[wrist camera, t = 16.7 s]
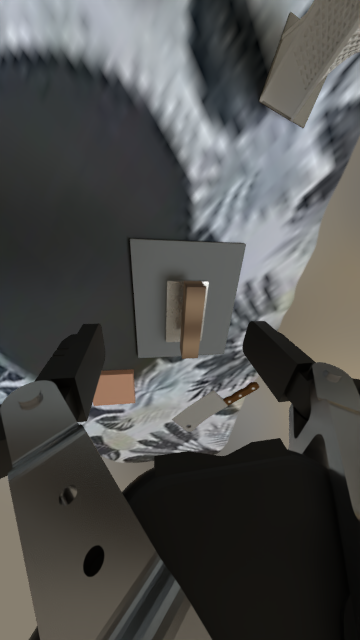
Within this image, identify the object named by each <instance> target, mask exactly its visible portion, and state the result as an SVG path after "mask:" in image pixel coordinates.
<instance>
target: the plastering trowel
mask: <svg viewBox="0 0 360 640" xmlns="http://www.w3.org/2000/svg"><path fill="white" fill-rule="evenodd" d="M208 285H209V281H195V280H167V305H166V342H180V351H181V356H182V359H185V358H198V352H199V344H200V341H201V340H202V332H203V325H204V317H205V309H206V301H207V293H208Z"/></svg>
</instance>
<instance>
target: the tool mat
mask: <svg viewBox="0 0 360 640" xmlns="http://www.w3.org/2000/svg"><path fill="white" fill-rule="evenodd" d="M130 246H131V261H132V275H133V289H134V303H135V317H136V331H137V345H138V358H148V357H170V356H181V351H180V342H166V305H167V280H195V281H209V285H208V293H207V301H206V309H205V317H204V325H203V332H202V340H201V341H200V344H199V352H198V355H214V354H224V351H225V346H226V341H227V336H228V331H229V326H230V321H231V316H232V311H233V306H234V301H235V296H236V291H237V286H238V281H239V276H240V271H241V266H242V261H243V256H244V251H245V247H246V244H244V243H222V242H199V241H176V240H152V239H130Z"/></svg>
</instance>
